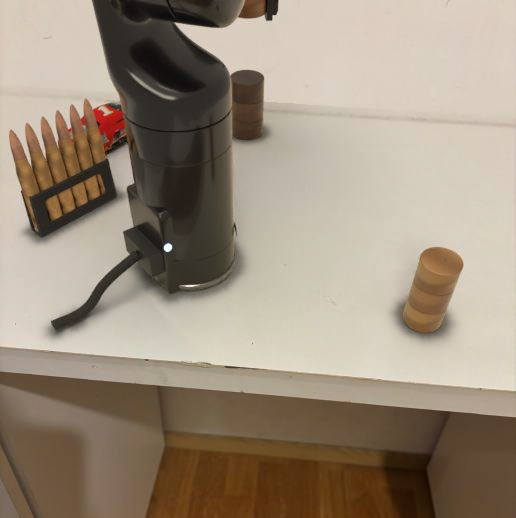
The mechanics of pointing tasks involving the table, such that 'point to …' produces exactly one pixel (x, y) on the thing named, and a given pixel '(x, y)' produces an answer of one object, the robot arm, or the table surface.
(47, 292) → the table surface
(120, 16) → the robot arm
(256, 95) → the walnut chip pile
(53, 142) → the ammunition clip
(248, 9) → the oak chip
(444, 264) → the oak chip base pile
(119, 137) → the race car
